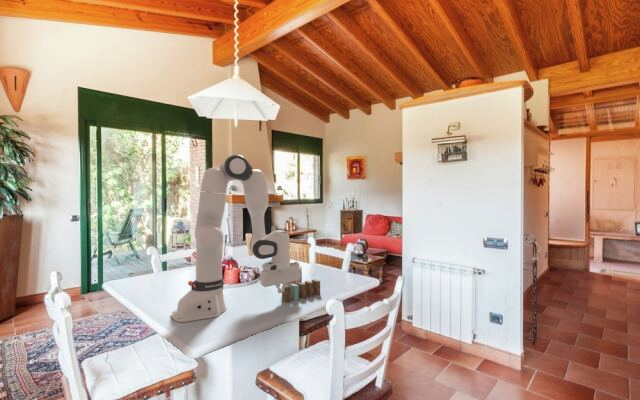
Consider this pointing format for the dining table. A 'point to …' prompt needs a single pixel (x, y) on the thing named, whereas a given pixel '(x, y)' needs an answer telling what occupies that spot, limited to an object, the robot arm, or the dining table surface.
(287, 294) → the domino
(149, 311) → the dining table surface
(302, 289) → the domino
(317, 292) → the domino
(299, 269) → the printed cardboard box
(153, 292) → the dining table surface
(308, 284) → the domino
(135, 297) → the dining table surface
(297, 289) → the teal domino
